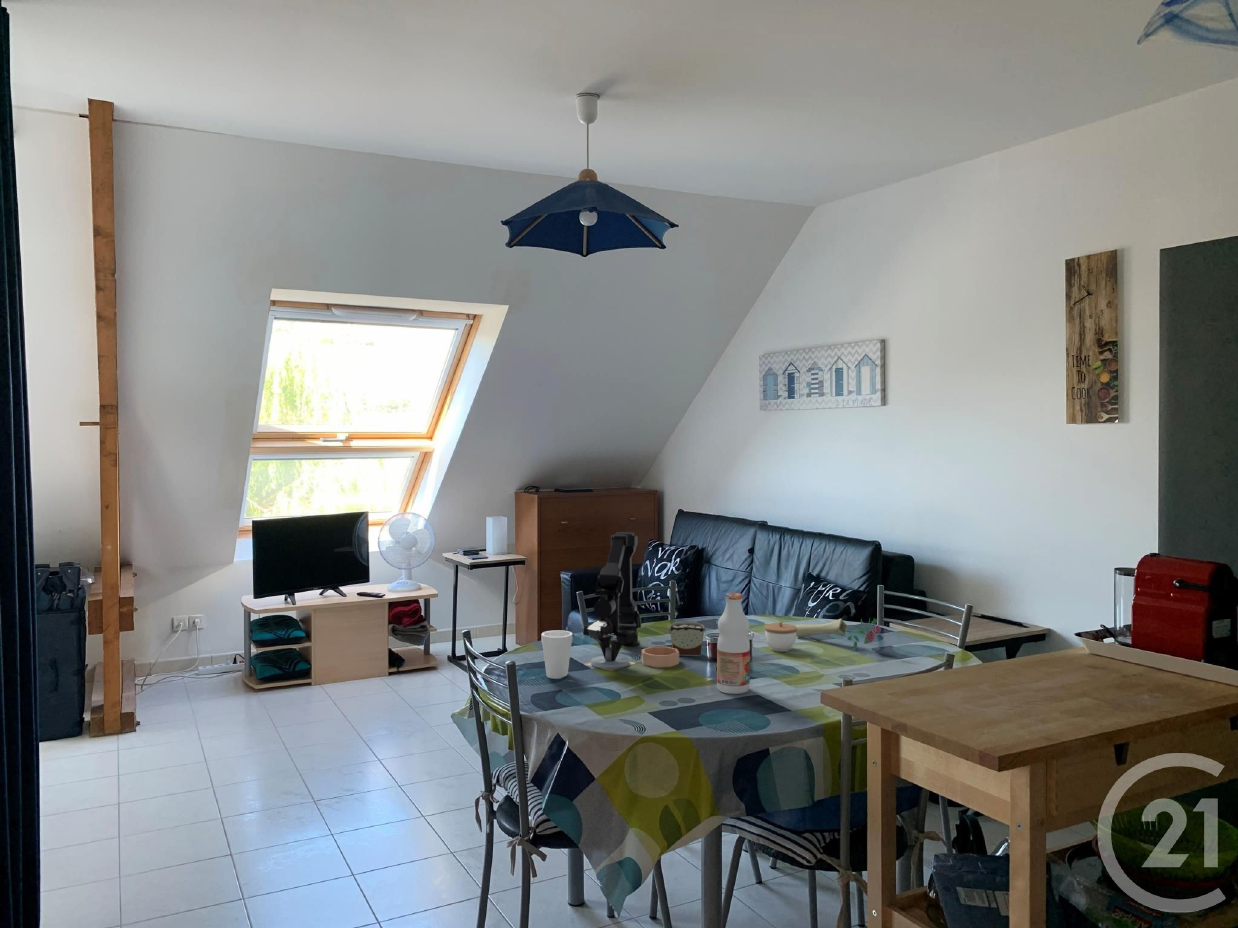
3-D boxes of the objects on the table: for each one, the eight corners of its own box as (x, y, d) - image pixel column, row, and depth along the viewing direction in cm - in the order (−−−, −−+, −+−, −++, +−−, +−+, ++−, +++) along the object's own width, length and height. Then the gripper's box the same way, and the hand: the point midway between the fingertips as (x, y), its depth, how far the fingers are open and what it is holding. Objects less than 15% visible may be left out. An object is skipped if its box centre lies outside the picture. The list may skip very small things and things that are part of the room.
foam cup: (577, 673, 286) (577, 631, 285) (565, 681, 277) (565, 638, 276) (548, 670, 289) (548, 629, 288) (536, 678, 280) (536, 635, 280)
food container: (705, 651, 313) (705, 622, 312) (705, 656, 307) (705, 626, 306) (669, 650, 314) (669, 621, 313) (668, 655, 308) (668, 625, 307)
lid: (582, 664, 295) (582, 648, 295) (608, 656, 304) (608, 641, 304) (611, 671, 287) (611, 655, 287) (637, 662, 296) (637, 647, 296)
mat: (583, 665, 295) (583, 664, 295) (608, 657, 304) (608, 656, 304) (611, 672, 287) (611, 670, 287) (636, 664, 296) (636, 662, 296)
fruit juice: (712, 686, 272) (713, 592, 271) (742, 684, 274) (743, 590, 273) (723, 695, 263) (723, 598, 261) (754, 693, 265) (755, 596, 264)
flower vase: (808, 656, 335) (894, 653, 310) (787, 652, 327) (873, 647, 302) (808, 624, 338) (893, 617, 313) (787, 618, 331) (873, 611, 306)
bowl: (634, 663, 297) (634, 651, 297) (657, 656, 306) (657, 644, 305) (663, 670, 289) (663, 657, 289) (685, 662, 298) (685, 650, 298)
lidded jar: (761, 651, 313) (761, 624, 312) (768, 644, 322) (768, 617, 322) (793, 654, 309) (793, 626, 308) (799, 647, 318) (799, 620, 318)
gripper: (571, 611, 295) (571, 659, 295) (615, 619, 283) (615, 670, 283) (594, 606, 303) (594, 653, 304) (638, 613, 291) (638, 662, 292)
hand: (609, 659), depth 295 cm, fingers closed on lid, 3 cm apart
